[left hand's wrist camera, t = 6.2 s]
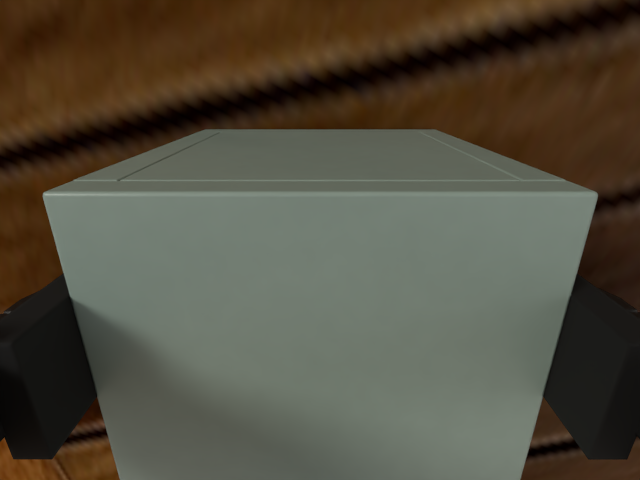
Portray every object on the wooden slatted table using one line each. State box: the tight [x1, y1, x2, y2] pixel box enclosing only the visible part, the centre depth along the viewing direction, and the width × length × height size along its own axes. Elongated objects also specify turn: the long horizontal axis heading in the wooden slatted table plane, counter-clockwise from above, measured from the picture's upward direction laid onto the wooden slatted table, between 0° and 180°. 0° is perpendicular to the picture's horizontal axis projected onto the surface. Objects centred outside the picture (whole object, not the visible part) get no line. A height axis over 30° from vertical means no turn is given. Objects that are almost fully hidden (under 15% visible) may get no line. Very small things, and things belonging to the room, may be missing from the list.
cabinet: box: [43, 129, 598, 480], centre depth 15 cm, size 16×10×11 cm, turn 0°
